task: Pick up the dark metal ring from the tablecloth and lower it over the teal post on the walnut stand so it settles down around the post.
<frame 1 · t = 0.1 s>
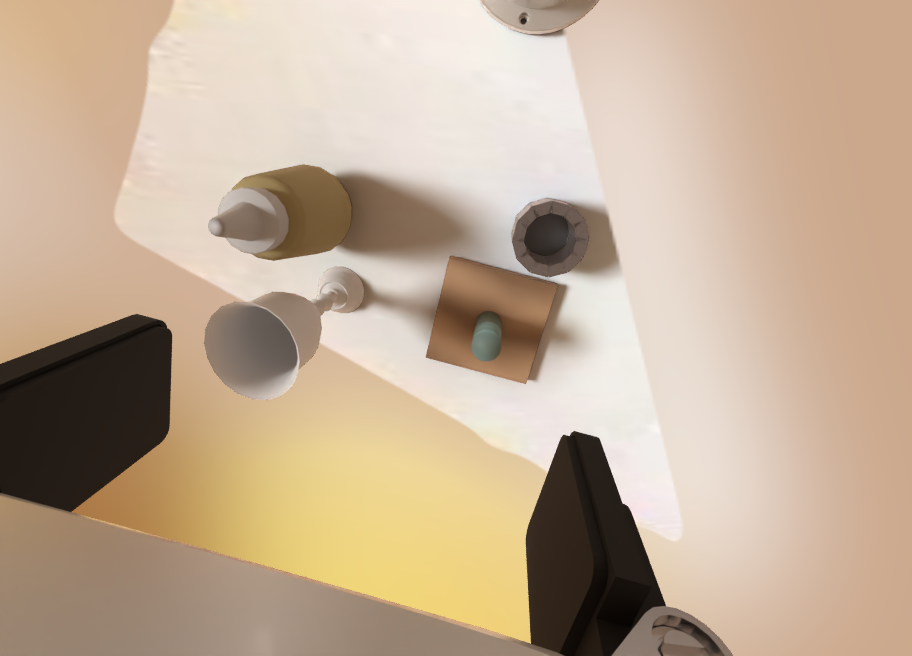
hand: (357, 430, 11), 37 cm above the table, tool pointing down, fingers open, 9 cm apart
ring: (545, 233, 44), on the table
chalice: (341, 289, 49), on the table
squeeze bottle: (325, 207, 46), on the table
post stand: (489, 319, 48), on the table
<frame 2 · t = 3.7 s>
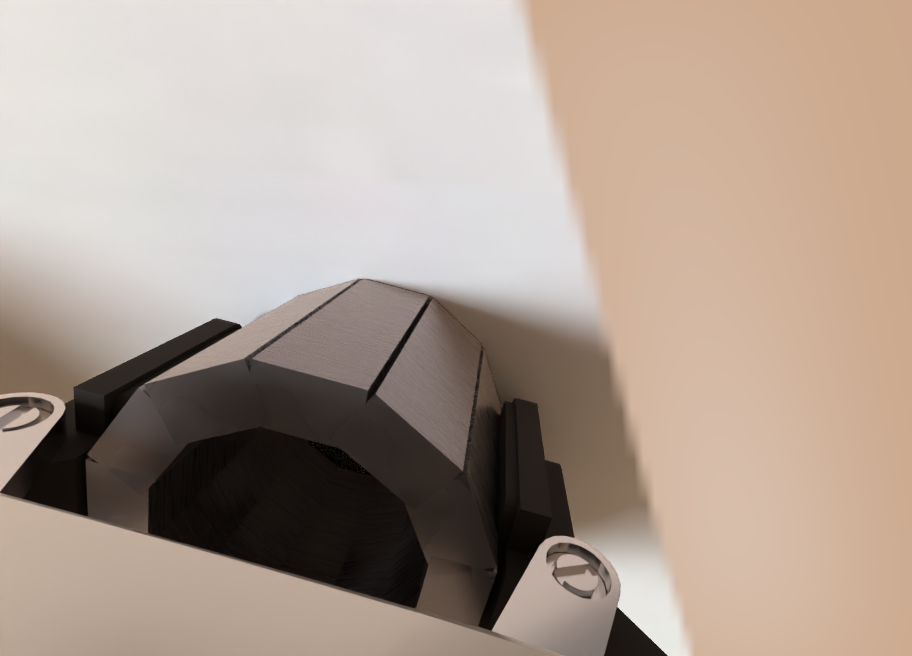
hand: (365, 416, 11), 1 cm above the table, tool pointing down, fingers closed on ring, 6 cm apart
ring: (372, 403, 12), on the table, touching gripper
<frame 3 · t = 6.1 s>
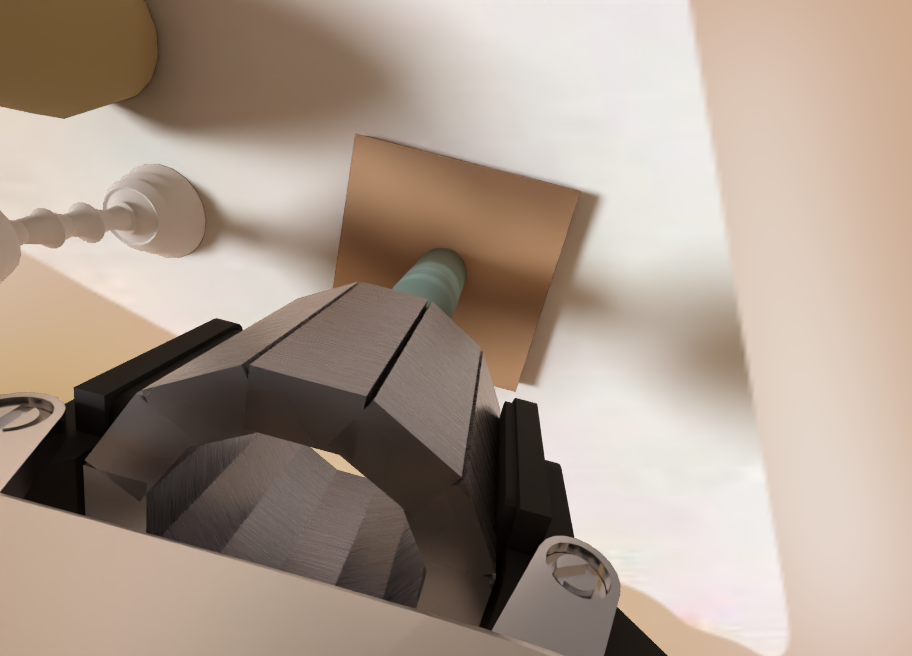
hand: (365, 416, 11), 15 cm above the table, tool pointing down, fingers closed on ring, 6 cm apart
ring: (371, 406, 12), point 14 cm above the table, touching gripper
chalice: (164, 212, 25), on the table
squeeze bottle: (108, 37, 23), on the table
post stand: (444, 267, 25), on the table
when the fingers open (5 cm above the table, at t = 8.8 s): ring drops 3 cm, resting on post stand.
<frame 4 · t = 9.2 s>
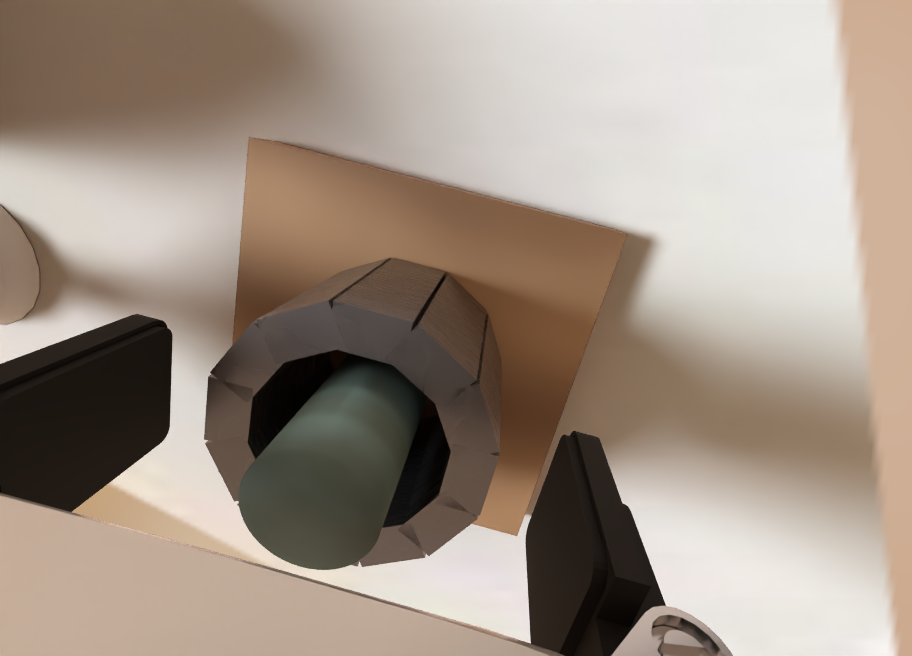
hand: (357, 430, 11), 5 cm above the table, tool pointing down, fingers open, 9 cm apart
ring: (398, 359, 15), point 1 cm above the table, touching post stand
post stand: (406, 346, 16), on the table
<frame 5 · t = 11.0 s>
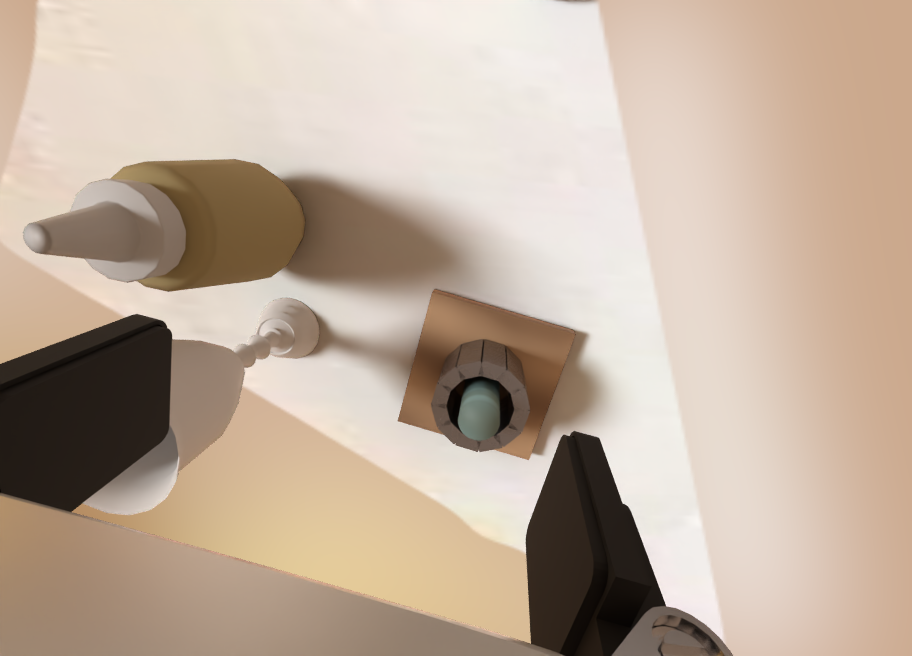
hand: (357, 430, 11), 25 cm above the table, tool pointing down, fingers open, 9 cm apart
ring: (482, 379, 35), point 1 cm above the table, touching post stand
chalice: (290, 328, 37), on the table
squeeze bottle: (270, 220, 35), on the table
post stand: (483, 373, 36), on the table
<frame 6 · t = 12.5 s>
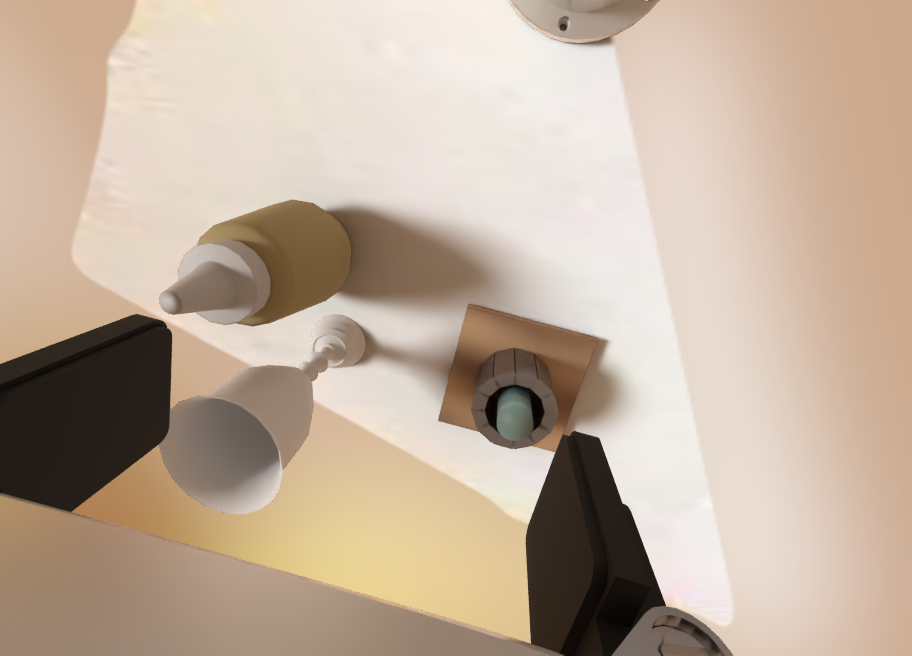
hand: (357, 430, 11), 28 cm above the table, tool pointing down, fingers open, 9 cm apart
ring: (513, 383, 39), point 1 cm above the table, touching post stand
chalice: (339, 340, 41), on the table
squeeze bottle: (319, 246, 39), on the table
post stand: (513, 377, 40), on the table
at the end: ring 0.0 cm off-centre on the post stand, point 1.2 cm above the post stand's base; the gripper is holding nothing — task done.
